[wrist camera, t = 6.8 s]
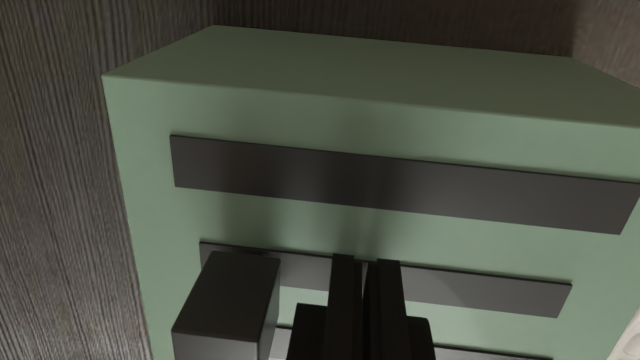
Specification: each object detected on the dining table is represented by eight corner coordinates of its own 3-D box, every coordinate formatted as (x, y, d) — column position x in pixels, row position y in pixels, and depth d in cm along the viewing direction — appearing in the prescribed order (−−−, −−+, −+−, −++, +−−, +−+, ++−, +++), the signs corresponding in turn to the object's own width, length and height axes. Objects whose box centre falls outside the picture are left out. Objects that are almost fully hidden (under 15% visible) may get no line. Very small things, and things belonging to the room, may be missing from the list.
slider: (221, 290, 12) (177, 393, 9) (218, 234, 11) (168, 330, 8) (282, 298, 12) (258, 403, 9) (285, 242, 11) (258, 341, 8)
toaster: (222, 230, 21) (152, 368, 14) (212, 24, 16) (97, 75, 9) (499, 261, 20) (572, 422, 13) (572, 57, 16) (748, 138, 9)
